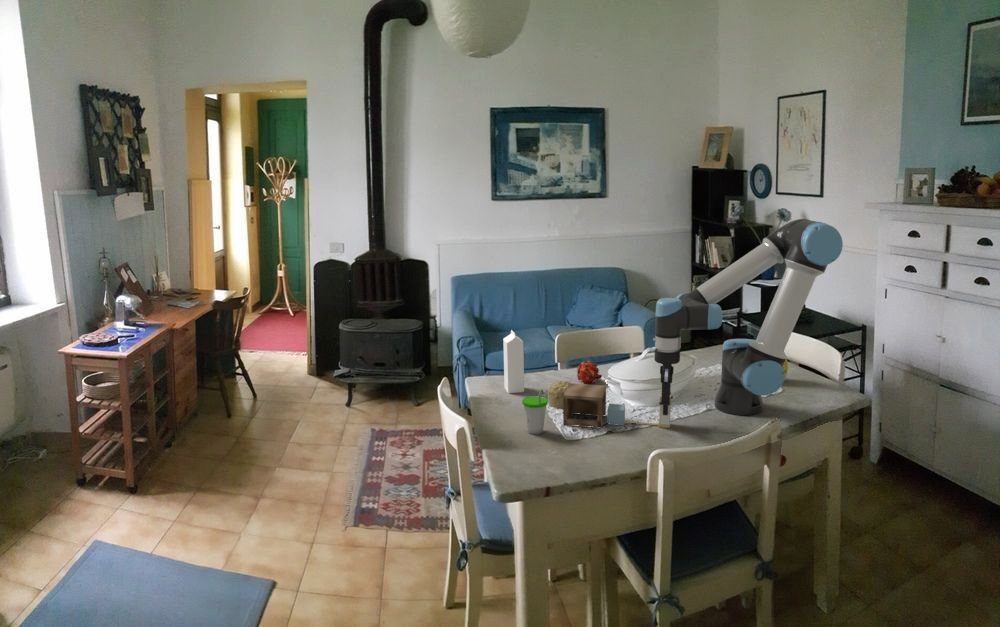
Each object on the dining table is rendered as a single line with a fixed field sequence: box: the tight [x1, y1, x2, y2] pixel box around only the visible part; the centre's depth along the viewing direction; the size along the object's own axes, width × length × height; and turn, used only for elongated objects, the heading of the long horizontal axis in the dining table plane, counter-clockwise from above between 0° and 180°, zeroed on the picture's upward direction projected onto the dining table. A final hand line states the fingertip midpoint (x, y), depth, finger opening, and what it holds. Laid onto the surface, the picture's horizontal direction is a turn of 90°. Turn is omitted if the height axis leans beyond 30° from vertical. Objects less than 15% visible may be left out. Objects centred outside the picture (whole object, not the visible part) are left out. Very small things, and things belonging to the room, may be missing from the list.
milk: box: [502, 329, 525, 394], centre depth 250 cm, size 6×6×22 cm
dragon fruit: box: [576, 360, 603, 385], centre depth 258 cm, size 8×8×12 cm
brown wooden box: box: [562, 382, 607, 428], centre depth 222 cm, size 12×11×10 cm
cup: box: [521, 389, 549, 436], centre depth 213 cm, size 8×8×15 cm
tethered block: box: [606, 392, 672, 429], centre depth 218 cm, size 19×5×10 cm, turn 75°
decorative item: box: [547, 380, 571, 409], centre depth 237 cm, size 10×10×10 cm
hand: (665, 421), depth 216 cm, fingers closed on tethered block, 3 cm apart
